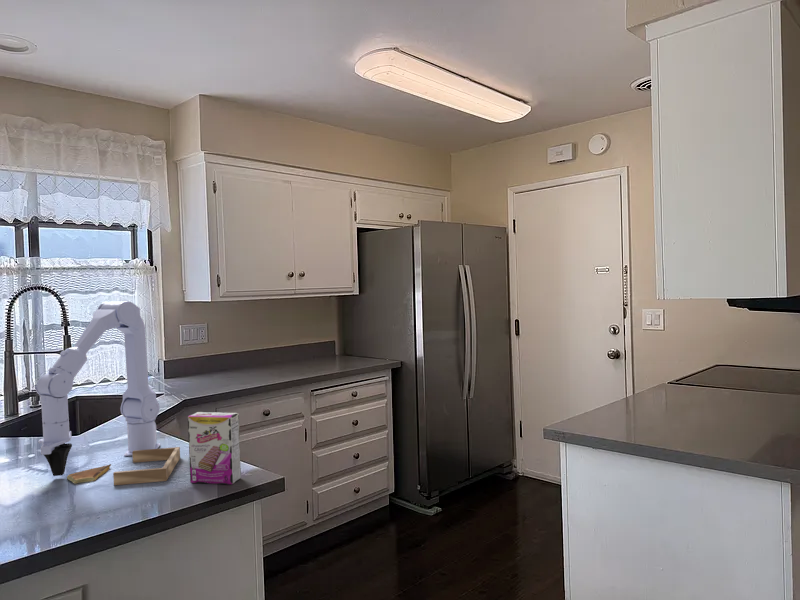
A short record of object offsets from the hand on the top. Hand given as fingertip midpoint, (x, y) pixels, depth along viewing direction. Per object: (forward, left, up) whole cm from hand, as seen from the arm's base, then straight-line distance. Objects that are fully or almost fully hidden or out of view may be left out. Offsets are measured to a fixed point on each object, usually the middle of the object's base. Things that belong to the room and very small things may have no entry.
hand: (58, 474), depth 149 cm
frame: (0, +21, -1) cm, 21 cm away
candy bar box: (+13, +39, -1) cm, 42 cm away
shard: (0, +6, -2) cm, 7 cm away
